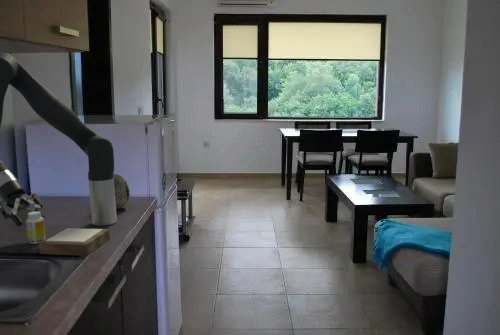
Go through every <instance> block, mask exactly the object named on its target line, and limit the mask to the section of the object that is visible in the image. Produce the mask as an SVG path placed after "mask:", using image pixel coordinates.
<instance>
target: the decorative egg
mask: <svg viewBox="0 0 500 335" xmlns="http://www.w3.org/2000/svg"><path fill="white" fill-rule="evenodd" d="M113 176H114V189H115V201H116V210H120V209H123V208H124V207H125V206H127V204H128V202H129V200H130V196H131V194H130V193H131V191H130V186H129V184H128V181H127V180H126V179H125V178H124V177H123V176H122V175H120V174H118V173H117V174H116V173H113Z"/></svg>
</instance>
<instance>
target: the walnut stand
mask: <svg viewBox="0 0 500 335" xmlns="http://www.w3.org/2000/svg"><path fill="white" fill-rule="evenodd" d="M110 237H111V236H110V229H109V228H108V229H106V228H73V227H71V228H70V227H69V228H68V227H65V228H63V229H61V230H60V231H59V232H56V233H55V234H53V235H51V236H49V237H47V238H46V240H44V241H42V242H40V243H38V245H39V247H38V248H39V255H40V254H41V255H59V256H60V255H61V256H62V255H63V256H65V255H66V256H84V255H87V254H89V253H90V254H92V253H93V252H94V251H95V250H97V249H99V248H100V247H101V246H103V245H104V244H105V243H107V242H108V241H109V240H110ZM90 254H89V255H90ZM87 256H88V255H87Z"/></svg>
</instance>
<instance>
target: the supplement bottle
mask: <svg viewBox="0 0 500 335" xmlns="http://www.w3.org/2000/svg"><path fill="white" fill-rule="evenodd" d="M25 225H26V232H27V240H28V243H29V244H31V245H37V244H38V245H39V243H40V242H42V241H44V240H46V239H47V237H46V236H47V235H46V228H45V218H43V217H41V212H38V211H36V212H34V211H30V212H27V219H26V220H25Z"/></svg>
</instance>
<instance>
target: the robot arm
mask: <svg viewBox="0 0 500 335" xmlns="http://www.w3.org/2000/svg"><path fill="white" fill-rule="evenodd" d="M9 86H11V87H13V88H14V89H15V90H16V91H17V92H18V93H20V95H21V96H22V97H23V99H25V101H26V102H27V104H28V105H29V106H30V107H31V109H32V110H33V111H34V112H35V113H36V115H38V116H39V117H40V118H41V119H42V120H44V121H45V122H46V123H47V124H48V125H50V126H51V127H53V129H55V130H56V131H58V132H59V133H61V134H63V135H64V136H66V137H67V138H68V139H70V140H72V141H73V142H74V144H76V145H77V146H78V147H79V148H80V149H81V150H82V151H83V153H84V154H85V155H86V156H87V157H88V159H87V160H88V172H87V179H88V190H89V202H90V204H89V205H90V215H91V224H92V225H93V226H101V227H102V226H109V225H113V224H115V223H116V222H118V221H117V218H118V217H117V215H118V214H117V209H116V201H115V189H114V176H113V174H115V173H114V172H115V154H114V152H115V151H114V147H113V144H112V142H111V141H110V140H109V139H107V138H105V137H103V136H100V134H98V133H96V132H95V131H93V130H92V129H91V128H89V127H88V126H86V124H85V123H83V121H81V119H80V118H79V117H78V115H76V113H75V112H74V111H73V110H72V109H71V108H70V106H68V105H67V104H66V103H65V102H64V101H63V100H62V99H60V98H59V97H58V96H57V95H55V94H54V92H52V91H50V90H49V88H48V87H46V86H44V85H43V84H42V83H41V82H40V81H38V80H37V79H36V78H35V77H34V76H32V74H31V73H30V72H28V70H27V69H25V67H24V66H23V65H22V64H21V63H20V62H19V61H18V60H17V59H16V58H15V57H14V56H12V55H11V54H9V53H7V52H0V128H1V127H2V121H3V116H4V115H3V114H4V102H5V96H6V93H7V90H8V88H9ZM0 198H1V200H0V214H1V215H2V217H3V219H5V220H8V219H11V220H12V221H13V223H14V224H15V226H17V227H18V228H22V226H23V224H24V221H23V220H22V218H20V216H19V215H18V214H17V212H20V211H23V210H24V211H25V210H28V211H31V212H36V211H38V212H41V217H43V218H44V219H46V218H45V217H46V214H45V213H44V211H43V210H42V208H43V207H44V206H45V203H44V202H43V201H42V200H41V199H40V198H39V196H38V195H37V193H36V192H33V193H32V194H31V195H28V194H27V193H26V191H25V188H24V187H23V186H22V184H21V183H20V181H19V180H18V179H17V177H16V176H15V174H14V173H13V172H12V171H11V170H10V169H9V167H8V166H7V165H6V163H5V162H4V161H3V160H1V159H0ZM9 209H10V210H9Z"/></svg>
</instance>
